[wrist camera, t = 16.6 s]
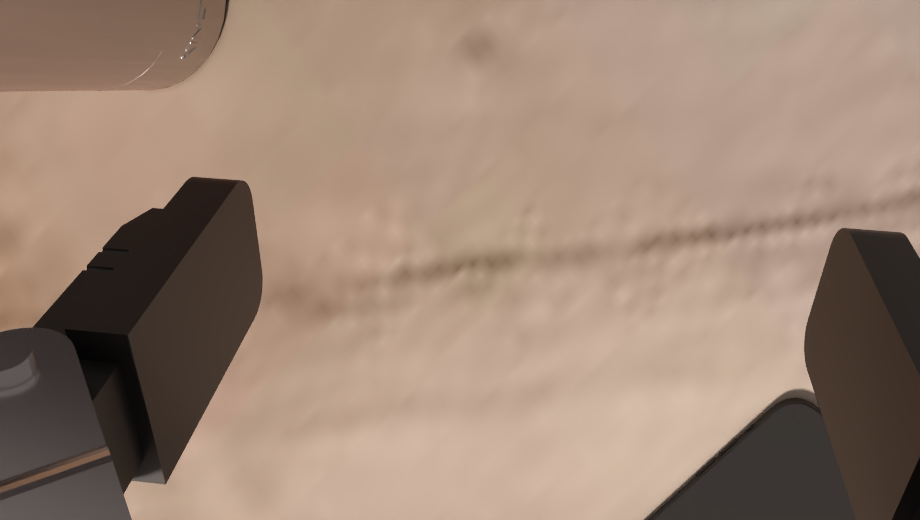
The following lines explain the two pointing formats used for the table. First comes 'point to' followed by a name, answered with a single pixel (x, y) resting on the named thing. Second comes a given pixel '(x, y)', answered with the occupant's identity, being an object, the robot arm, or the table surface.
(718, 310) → the table surface
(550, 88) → the table surface
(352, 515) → the table surface
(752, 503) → the phone
